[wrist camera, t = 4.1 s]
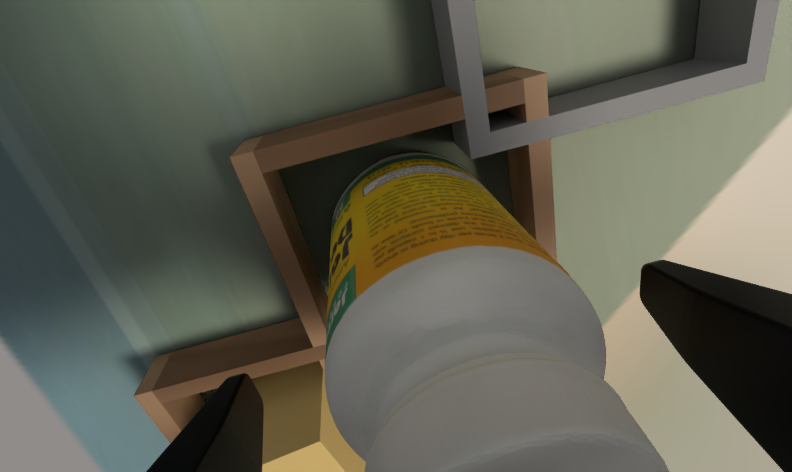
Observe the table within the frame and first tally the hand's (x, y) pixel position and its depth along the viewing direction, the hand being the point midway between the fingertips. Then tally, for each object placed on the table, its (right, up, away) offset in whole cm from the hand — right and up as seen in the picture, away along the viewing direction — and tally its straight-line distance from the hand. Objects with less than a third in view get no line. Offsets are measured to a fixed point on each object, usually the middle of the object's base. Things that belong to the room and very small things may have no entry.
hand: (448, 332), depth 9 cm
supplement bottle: (-1, +3, +5) cm, 6 cm away
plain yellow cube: (-5, -5, +8) cm, 10 cm away
